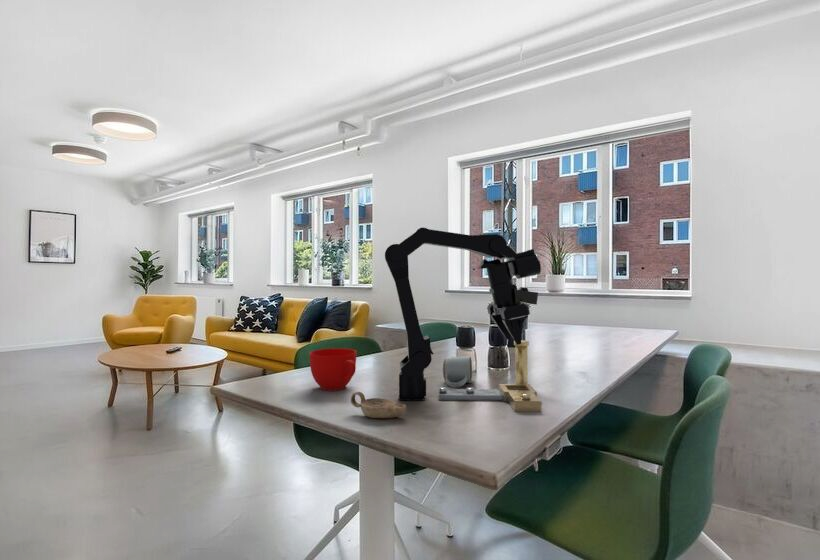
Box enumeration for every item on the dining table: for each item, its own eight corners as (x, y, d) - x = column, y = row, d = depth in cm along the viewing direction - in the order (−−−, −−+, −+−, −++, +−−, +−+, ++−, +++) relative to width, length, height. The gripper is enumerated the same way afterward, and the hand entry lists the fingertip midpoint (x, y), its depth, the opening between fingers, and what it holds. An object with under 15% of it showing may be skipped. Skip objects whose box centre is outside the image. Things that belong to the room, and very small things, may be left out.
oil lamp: (411, 415, 97) (411, 392, 97) (397, 425, 90) (397, 401, 90) (360, 408, 102) (360, 387, 102) (343, 417, 96) (343, 394, 96)
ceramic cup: (332, 399, 109) (332, 360, 109) (301, 387, 122) (301, 351, 122) (374, 390, 118) (373, 354, 118) (340, 380, 131) (340, 346, 131)
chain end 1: (439, 400, 108) (439, 392, 108) (438, 392, 116) (438, 384, 116) (536, 401, 107) (536, 392, 107) (529, 393, 115) (529, 384, 115)
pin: (515, 390, 118) (515, 342, 118) (512, 386, 122) (512, 340, 122) (530, 390, 118) (530, 342, 118) (527, 386, 122) (527, 340, 122)
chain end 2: (510, 411, 99) (510, 396, 99) (498, 392, 115) (498, 380, 115) (545, 411, 99) (545, 396, 99) (529, 393, 115) (529, 380, 115)
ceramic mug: (445, 378, 132) (445, 353, 132) (472, 379, 131) (472, 354, 130) (440, 387, 122) (440, 360, 122) (470, 389, 120) (469, 361, 120)
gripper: (543, 275, 103) (557, 339, 103) (520, 276, 122) (531, 330, 122) (498, 285, 103) (512, 350, 103) (481, 284, 121) (493, 339, 122)
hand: (513, 341), depth 112 cm, fingers open, 9 cm apart
